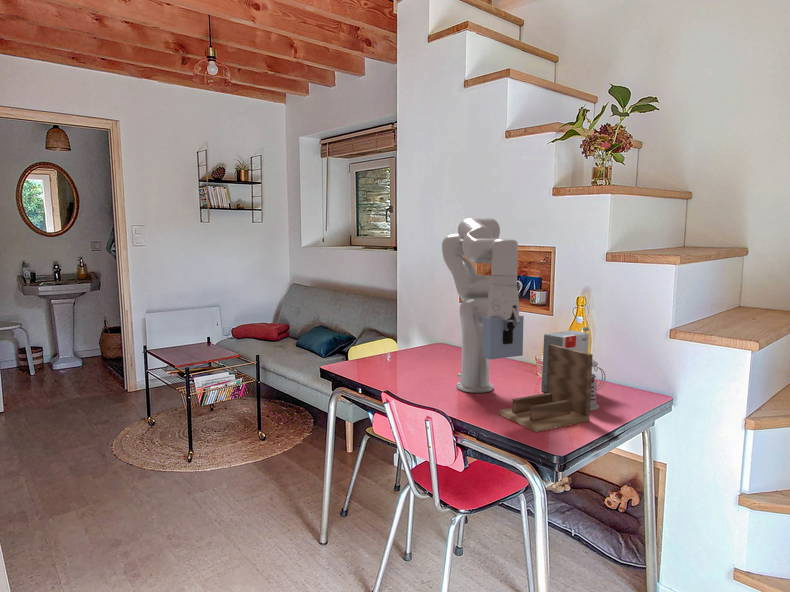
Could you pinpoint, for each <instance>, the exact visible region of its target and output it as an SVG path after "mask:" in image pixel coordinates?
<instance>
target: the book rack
mask: <svg viewBox="0 0 790 592" xmlns="http://www.w3.org/2000/svg"><path fill="white" fill-rule="evenodd" d="M592 359H593V354H592V353H589V352H588V353H585V352H581V351H577V350H573V349H569V348H565V347H561V346H557V345H553V344H549V345H548V369H547V392H545V393H540V394H535V395H528V396H524V397H523V396H522V397H517V398H512V400H511V403H512V404H511V407H508V408H507V407H506V408H502V409H498V415H499V416H500V415H502V416H501V417H503V416H504V417H503V418H505V417H506V418H505V419H507V418H509V419H511V420H513V421H515V422H517V423H519V424H521V425H520V426H522V425H523V426H522V427H524V426H525V427H524V428H526V427H527V428H526V429H528V428H529V429H528V430H530V429H531V430H530V431H532V430H533V431H532V432H534V431H535V433H540V432H539V431H541V432H543V431H542V430H545V431H547V430H546V429H550V430H552V429H551V428H554V429H556V428H555V427H559V428H561V427H560V426H564V427H566V426H565V425H568V426H571V425H570V424H573V425H576V423H577V424H582V423H586V422H589V421H590V419H591V418H590V417H591V410H590V400H591V378H592V374H593V373H592V372H593V367H592ZM509 419H508V420H509ZM511 420H510V421H511ZM513 421H512V422H513ZM515 422H514V423H515ZM581 422H582V423H581ZM517 423H516V424H517ZM519 424H518V425H519Z"/></svg>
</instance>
